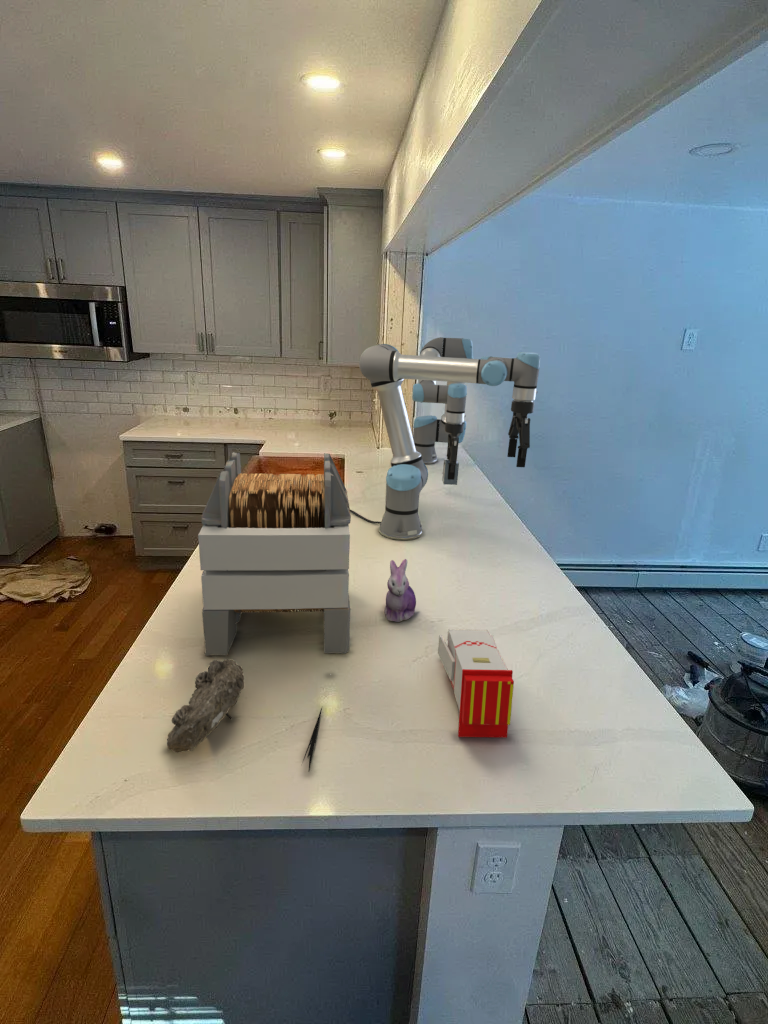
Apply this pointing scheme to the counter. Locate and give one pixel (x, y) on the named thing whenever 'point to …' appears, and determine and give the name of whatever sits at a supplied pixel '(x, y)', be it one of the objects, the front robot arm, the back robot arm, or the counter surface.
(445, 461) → the brick
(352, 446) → the counter surface
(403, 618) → the figurine
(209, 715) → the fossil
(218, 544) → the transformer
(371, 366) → the front robot arm
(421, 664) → the counter surface
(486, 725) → the toy
